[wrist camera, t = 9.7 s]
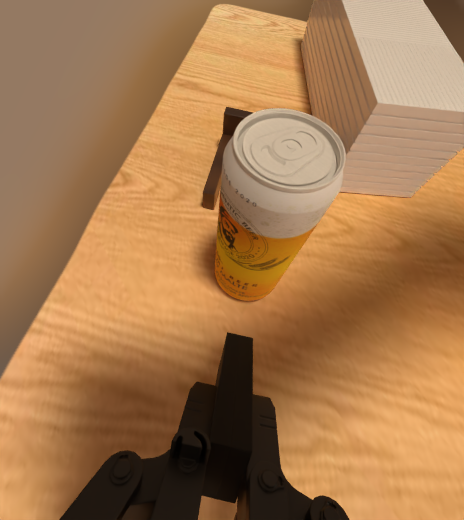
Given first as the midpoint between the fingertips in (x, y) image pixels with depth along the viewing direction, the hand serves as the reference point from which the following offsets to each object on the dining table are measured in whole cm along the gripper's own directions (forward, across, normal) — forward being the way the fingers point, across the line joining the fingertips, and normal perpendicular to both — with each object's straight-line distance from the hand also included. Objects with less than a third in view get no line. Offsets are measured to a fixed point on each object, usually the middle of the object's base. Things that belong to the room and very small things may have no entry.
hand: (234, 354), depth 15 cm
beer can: (+11, 0, +1) cm, 11 cm away
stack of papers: (+32, +10, +22) cm, 40 cm away
